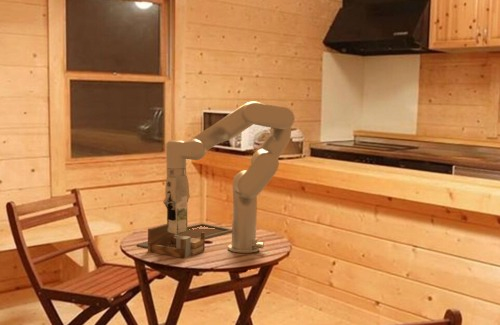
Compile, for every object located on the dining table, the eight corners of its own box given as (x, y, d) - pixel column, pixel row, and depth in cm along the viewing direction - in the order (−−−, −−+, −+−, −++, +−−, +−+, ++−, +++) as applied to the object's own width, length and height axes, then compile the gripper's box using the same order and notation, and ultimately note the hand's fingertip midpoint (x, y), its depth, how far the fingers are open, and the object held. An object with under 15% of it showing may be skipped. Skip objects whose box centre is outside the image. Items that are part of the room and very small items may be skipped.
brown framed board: (160, 232, 253) (206, 222, 276) (160, 236, 253) (206, 225, 277) (192, 240, 241) (237, 228, 265) (192, 243, 241) (237, 232, 265)
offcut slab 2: (203, 252, 228) (203, 246, 227) (193, 255, 222) (193, 249, 222) (192, 250, 230) (192, 244, 230) (182, 253, 225) (183, 247, 224)
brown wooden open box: (205, 249, 230) (206, 227, 229) (182, 258, 216) (183, 234, 215) (171, 243, 238) (172, 222, 237) (147, 251, 224) (148, 228, 223)
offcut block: (190, 254, 222) (190, 236, 221) (185, 257, 218) (185, 239, 218) (181, 253, 223) (181, 235, 223) (176, 255, 220) (176, 237, 219)
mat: (161, 245, 235) (161, 243, 235) (150, 248, 229) (150, 247, 229) (147, 242, 238) (147, 241, 238) (136, 246, 232) (136, 244, 232)
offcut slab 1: (203, 245, 228) (203, 239, 227) (194, 249, 222) (194, 243, 222) (192, 244, 230) (192, 237, 230) (183, 247, 224) (183, 241, 224)
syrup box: (177, 229, 231) (177, 193, 230) (188, 231, 227) (187, 195, 226) (166, 232, 227) (166, 195, 225) (177, 234, 223) (176, 197, 221)
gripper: (170, 175, 215) (171, 223, 217) (197, 170, 230) (197, 215, 232) (154, 174, 219) (155, 221, 221) (181, 169, 234) (182, 213, 236)
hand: (177, 217), depth 226 cm, fingers closed on syrup box, 6 cm apart
